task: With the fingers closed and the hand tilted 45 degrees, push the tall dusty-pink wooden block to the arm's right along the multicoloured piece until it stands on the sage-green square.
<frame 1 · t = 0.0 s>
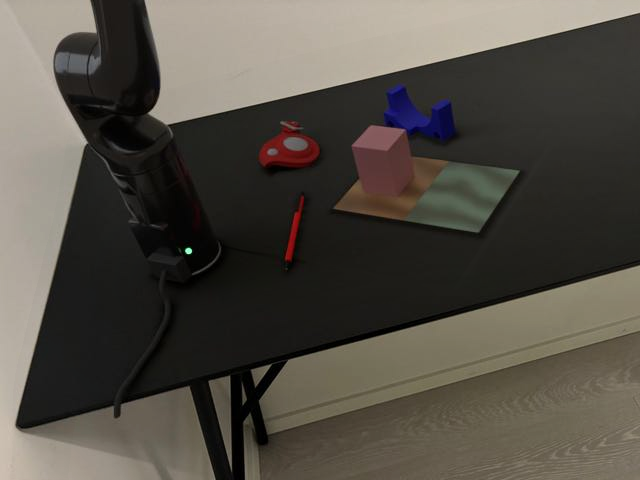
pen: (296, 232, 124), on the table
blue curved block: (421, 133, 140), on the table
pink block: (389, 183, 129), point 1 cm above the table, touching multicoloured piece
multicoloured piece: (427, 192, 127), on the table
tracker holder: (296, 155, 140), on the table
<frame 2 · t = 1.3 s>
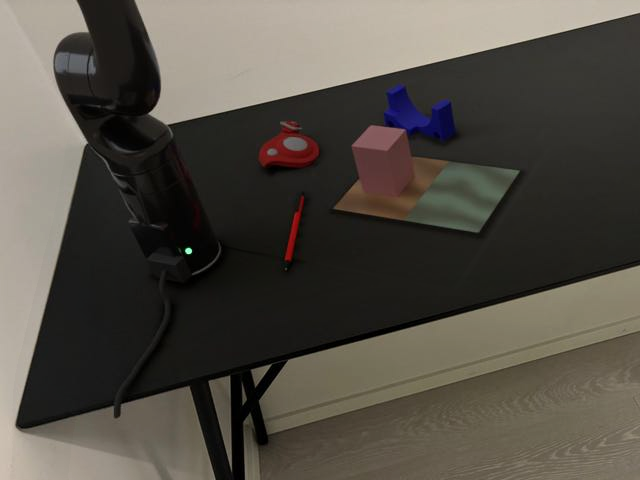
nothing on the table moved.
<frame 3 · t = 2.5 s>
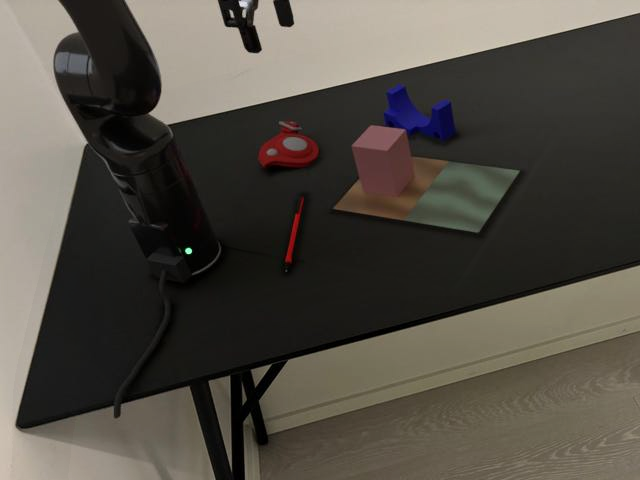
hand: (271, 38, 120), 22 cm above the table, tool pointing down, fingers open, 8 cm apart
nothing on the table moved.
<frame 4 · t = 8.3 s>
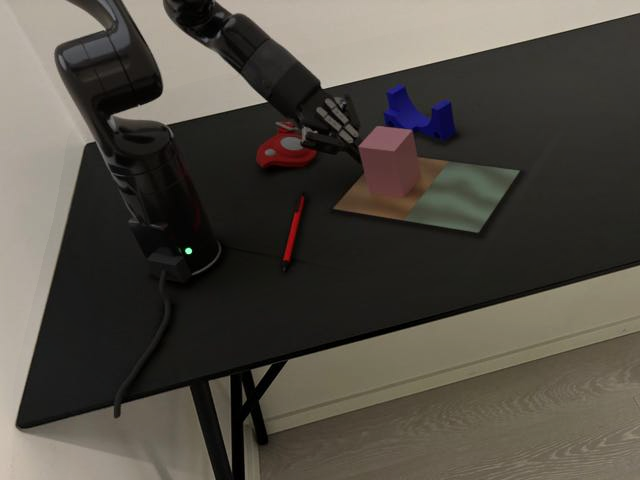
hand: (370, 161, 127), 4 cm above the table, tool tilted 45°, fingers closed
pink block: (395, 184, 128), point 1 cm above the table, touching multicoloured piece
everything else where it was.
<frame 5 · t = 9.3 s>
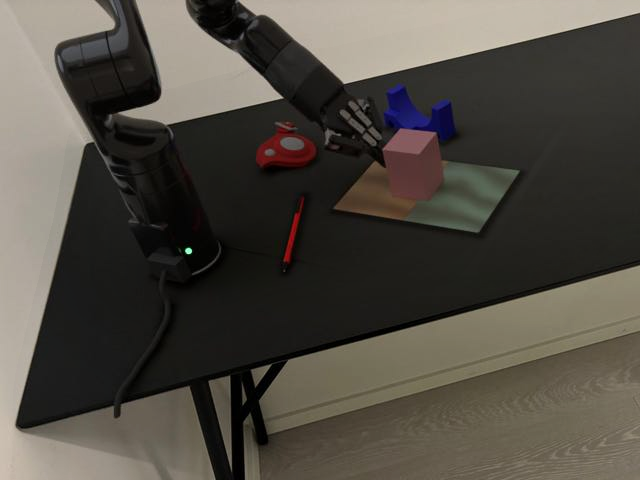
hand: (393, 164, 126), 4 cm above the table, tool tilted 45°, fingers closed
pink block: (418, 187, 127), point 1 cm above the table, touching gripper
everything else where it was.
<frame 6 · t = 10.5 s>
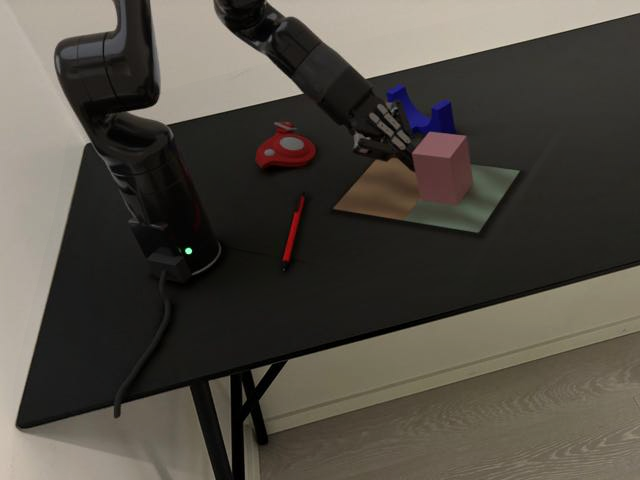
hand: (422, 167, 124), 4 cm above the table, tool tilted 45°, fingers closed
pink block: (447, 191, 125), point 1 cm above the table, touching multicoloured piece, gripper
everything else where it was.
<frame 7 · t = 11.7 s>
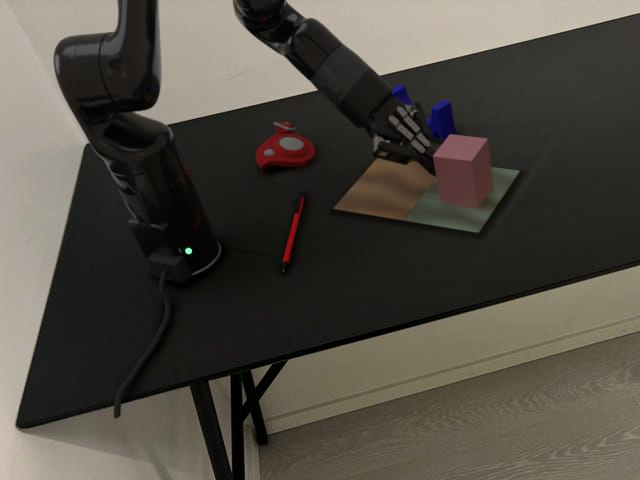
hand: (441, 171, 123), 4 cm above the table, tool tilted 45°, fingers closed
pink block: (467, 194, 124), point 1 cm above the table, touching multicoloured piece, gripper
everything else where it was.
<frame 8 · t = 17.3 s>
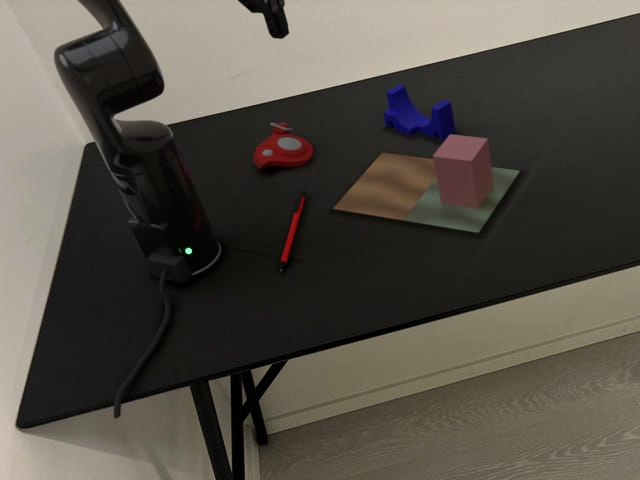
hand: (280, 36, 118), 23 cm above the table, tool pointing down, fingers closed
pink block: (467, 194, 124), point 1 cm above the table, touching multicoloured piece
at the end: pink block inside the target area (0.7 cm from its centre), point 0.6 cm above the table; pink block tilted 0°; pink block moved 13.2 cm from its start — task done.
